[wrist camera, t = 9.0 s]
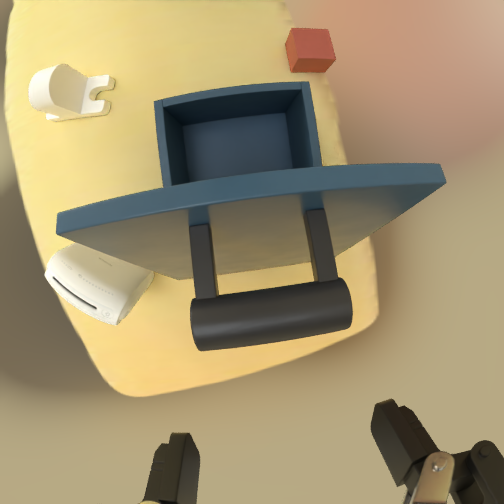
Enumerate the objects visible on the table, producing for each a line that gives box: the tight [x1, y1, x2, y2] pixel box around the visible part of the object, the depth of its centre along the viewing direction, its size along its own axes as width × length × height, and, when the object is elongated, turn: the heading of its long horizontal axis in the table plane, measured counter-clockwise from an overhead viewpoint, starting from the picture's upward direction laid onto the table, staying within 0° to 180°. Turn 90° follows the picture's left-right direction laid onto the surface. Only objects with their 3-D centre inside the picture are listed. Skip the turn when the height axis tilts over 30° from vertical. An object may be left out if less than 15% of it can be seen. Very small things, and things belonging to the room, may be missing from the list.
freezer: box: [154, 82, 322, 187], centre depth 27 cm, size 16×14×10 cm
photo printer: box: [45, 242, 154, 325], centre depth 28 cm, size 10×4×12 cm, turn 59°
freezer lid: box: [56, 163, 446, 351], centre depth 15 cm, size 16×14×5 cm
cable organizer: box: [28, 64, 115, 122], centre depth 23 cm, size 5×10×10 cm, turn 85°
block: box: [285, 28, 336, 72], centre depth 26 cm, size 4×4×4 cm
